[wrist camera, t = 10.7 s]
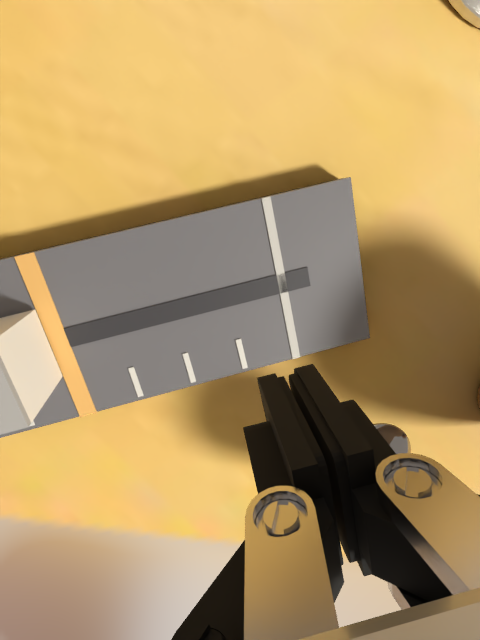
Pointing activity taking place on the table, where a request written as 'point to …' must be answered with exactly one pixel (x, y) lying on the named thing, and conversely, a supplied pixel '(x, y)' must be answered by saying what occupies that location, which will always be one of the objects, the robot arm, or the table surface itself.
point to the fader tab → (24, 370)
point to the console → (193, 297)
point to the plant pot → (478, 397)
